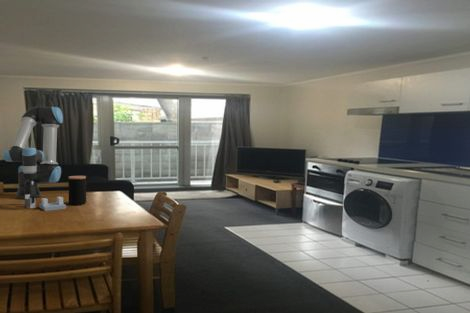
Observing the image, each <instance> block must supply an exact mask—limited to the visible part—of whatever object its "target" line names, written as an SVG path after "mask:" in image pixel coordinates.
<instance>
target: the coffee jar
mask: <svg viewBox="0 0 470 313" xmlns="http://www.w3.org/2000/svg"><path fill="white" fill-rule="evenodd" d="M86 178H87V175H71V176H68V204H69V205H70V206H83V205H86V203H87V179H86Z"/></svg>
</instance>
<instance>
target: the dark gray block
mask: <svg viewBox="0 0 470 313" xmlns="http://www.w3.org/2000/svg"><path fill="white" fill-rule="evenodd" d="M36 203H37V202H36V201H35V208H36ZM24 206H25V208H27V209H28V207H29V208H30V198H29V199H24Z"/></svg>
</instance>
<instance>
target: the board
mask: <svg viewBox="0 0 470 313" xmlns="http://www.w3.org/2000/svg"><path fill="white" fill-rule="evenodd" d="M40 199H41V203H39V204H38V208H40V209H41V210H43V211H45V212H46V211H57V210H58V211H59V210H64V209H67V205H66V204H65V203H64V197H63V196H56V201H54V202H49V199H48V198H47V197H45V198H44V197H43V198H41V197H40Z"/></svg>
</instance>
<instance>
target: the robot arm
mask: <svg viewBox="0 0 470 313" xmlns="http://www.w3.org/2000/svg"><path fill="white" fill-rule="evenodd" d="M63 117H64V116H63V112H62V110H61V108H60V107H57V106H33V107H31V108H28V110H26V111H25V113H24V114H23V115H22V116H21V119H20V124H19V127H18V131H17V133H16V134H15V137H14V140H13V142H12V144H11V147H10V149H5V151H3V159H4V161H5V162H11V163H13V162H15V163H16V162H17V163H19V162H20V163H21V162H22V165H20V166H18V172H17V174H18V176H17V178H18V189H17V192H16V194H15V199H17V200H25V199H29V198H30V207H29V209H36V207H35V202H36V199H39V198H41V195H42V194H41V192H40V188H39V186H38V185H39V183H41V184H42V183H46V184H52V183H57V182H59V181H60V179H61V176H62V168H61V166H59V163H58V161H57V144H58V141H57V140H58V128H59V127H60V125H61V124H62V123H63V122H64V118H63ZM38 123H39V124H41V127H43V140H42V141H43V142H42V150H40V149H37V148H35V147H26V146H27V143H28V140H29V138H30V135H31V133H32V131H33V128H34V127H35V126H37V124H38ZM39 162H40V163H39ZM37 163H39V165H38V164H37Z"/></svg>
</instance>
